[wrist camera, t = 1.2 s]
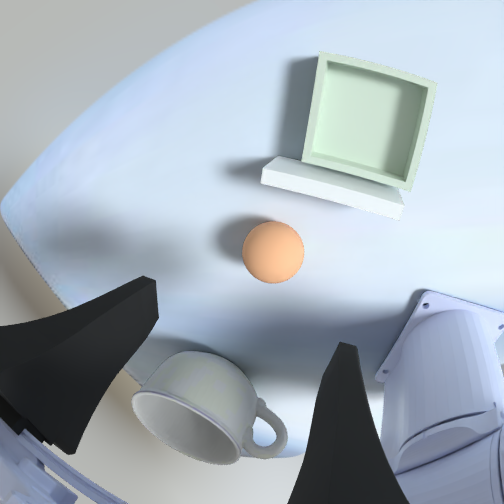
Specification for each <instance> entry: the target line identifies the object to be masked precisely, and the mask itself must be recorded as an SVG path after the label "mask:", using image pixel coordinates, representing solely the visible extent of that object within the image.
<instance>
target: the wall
mask: <svg viewBox="0 0 504 504" xmlns="http://www.w3.org/2000/svg"><path fill="white" fill-rule="evenodd" d="M261 184H265V185H269V186H274V187H278V188H282V189H286V190H290V191H294V192H298V193H302V194H306V195H310V196H314V197H318V198H322V199H326V200H329V201H333V202H337V203H340V204H344V205H348V206H351V207H355V208H358V209H362V210H365V211H369V212H372V213H375V214H379V215H382V216H386V217H389V218H392V219H395V220H400V218H401V215H402V212H403V209H404V203H403V200H402V197H401V195H400V192H399V189H398V188H397V187H393V186H390V185H387V184H384V183H380V182H377V181H374V180H370V179H367V178H363V177H360V176H356V175H352V174H349V173H345V172H341V171H337V170H334V169H330V168H326V167H322V166H318V165H314V164H309V163H305V162H301V161H300V160H295V159H291V158H286V157H282V156H277V157H276V158H275V159H273V160H272V161H271V162H270V163H268V164H267V165H266V166H265V167H264V168H263V170H262V177H261Z"/></svg>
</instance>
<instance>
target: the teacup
mask: <svg viewBox="0 0 504 504" xmlns="http://www.w3.org/2000/svg"><path fill="white" fill-rule="evenodd" d="M132 407H133V411H134V413H135V414H136V416H137V417H138V419H139V420H140V422H141V423H142V424H143V425H144V426H145V427H146V428H147V429H148V430H149V431H150V432H151V433H152V434H153V435H154V436H156V437H157V438H158V439H160V440H161V441H162V442H164V443H165V444H167V445H168V446H170V447H171V448H173V449H175V450H177V451H179V452H181V453H182V454H184V455H187V456H189V457H191V458H194V459H196V460H199V461H203V462H206V463H210V464H217V465H228V464H233V463H235V462H236V461H238V460H239V458H240V456H241V451H242V449H243V448H244V449H245V450H246V451H247V452H248V453H249V454H250V455H252V456H253V457H256V458H260V459H269V458H273V457H275V456H277V455H279V454H280V453H281V452H282V451H283V450H284V448H285V446H286V444H287V441H288V435H287V429H286V427H285V425H284V423H283V422H282V421H281V419H280V418H279V417H278V416H277V415H275V414H274V413H273V412H272V411H271V410H269V409H268V408H267V407H266V403H265V401H264V400H263V399H261V398H258V397H257V394H256V391H255V389H254V387H253V385H252V384H251V382H250V381H249V380H248V378H247V377H246V376H245V374H244V373H243V372H242V371H241V370H240V369H239V368H238V367H237V366H236V365H234V364H233V363H232V362H230V361H228V360H227V359H225V358H223V357H220V356H218V355H215V354H211V353H205V352H198V351H185V352H180V353H177V354H174V355H172V356H171V357H169V358H168V359H167V360H165V361H164V362H163V363H162V364H161V365H160V366H159V367H158V368H157V369H156V371H155V372H154V373H153V374H152V375H151V377H150V378H149V379H148V380H147V381H146V383H145V384H144V385H143V386H142V388H141V389H140V391H138V392H136V393H135V394H134V395H133V397H132ZM256 416H257V417H260V418H261V419H263V420H264V421H266V422H267V423H268V424H269V425H270V426H271V427H272V428H273V429H274V431H275V432H276V435H277V438H276V440H275V442H274V443H273V444H271V445H270V446H267V447H262V446H259V445H257V444H256V443H255V442H254V441H253V428H252V427H253V424H254V422H255V419H256Z"/></svg>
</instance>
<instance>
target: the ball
mask: <svg viewBox="0 0 504 504" xmlns="http://www.w3.org/2000/svg"><path fill="white" fill-rule="evenodd" d="M242 257H243V261H244V264H245V266H246V268H247V270H248V271H249V272H250V273H251V275H253V276H254V277H255V278H257V279H258V280H260V281H263V282H266V283H280V282H283V281H286V280H288V279H290V278H291V277H293V276H294V275H295V274H296V273H297V271H298V270H299V269H300V267H301V265H302V262H303V258H304V246H303V243H302V240H301V238H300V236H299V235H298V233H297V232H296V231H295V230H294V229H293V228H292V227H290V226H289V225H287V224H284V223H281V222H276V221H270V222H265V223H262V224H260V225H258V226H256V227H255V228H253V229H252V230H251V231H250V232H249V234H248V235H247V237H246V239H245V241H244V244H243V248H242Z"/></svg>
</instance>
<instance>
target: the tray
mask: <svg viewBox="0 0 504 504" xmlns="http://www.w3.org/2000/svg"><path fill="white" fill-rule="evenodd" d="M436 88H437V83H436V82H434V81H431V80H428V79H425V78H422V77H419V76H417V75H414V74H410V73H407V72H404V71H401V70H398V69H394V68H391V67H387V66H384V65H380V64H376V63H373V62H369V61H365V60H360V59H356V58H352V57H347V56H342V55H338V54H332V53H327V52H322V51H319V58H318V65H317V71H316V78H315V84H314V90H313V96H312V103H311V109H310V115H309V120H308V126H307V132H306V138H305V144H304V149H303V155H302V160H301V162H305V163H309V164H314V165H318V166H322V167H326V168H330V169H334V170H337V171H341V172H345V173H349V174H352V175H356V176H360V177H363V178H367V179H370V180H374V181H377V182H380V183H384V184H387V185H390V186H393V187H397V188H400V189H403V190H406V191H409V192H411V189H412V186H413V183H414V179H415V176H416V172H417V169H418V165H419V162H420V158H421V154H422V151H423V147H424V143H425V139H426V135H427V130H428V126H429V122H430V117H431V113H432V108H433V103H434V98H435V93H436Z"/></svg>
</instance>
